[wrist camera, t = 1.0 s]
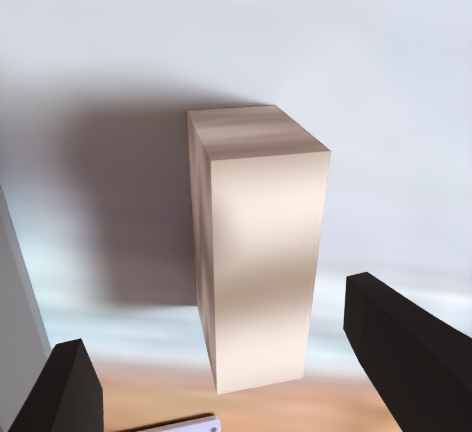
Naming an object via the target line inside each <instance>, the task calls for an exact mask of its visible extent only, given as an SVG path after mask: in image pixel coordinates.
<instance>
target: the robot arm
mask: <svg viewBox="0 0 472 432" xmlns="http://www.w3.org/2000/svg"><path fill="white" fill-rule="evenodd" d="M343 329H344V331H345V333H346V336H347V338H348V340H349V342H350V344H351V347H352V349H353V351H354V353H355V355H356V357H357V359H358V361H359V363H360V364H361V366H362V368H363V369H364V371H365V372H366V374H367V376H368V377H369V379H370V380H371V382H372V384H373V385H374V387H375V389H376V390H377V392H378V393H379V395H380V396H381V398H382V400H383V401H384V403H385V404H386V406H387V407H388V409H389V411H390V412H391V414H392V415H393V417H394V419H395V420H396V422H397V423H398V425H399V427H400V428H401V430H402V431H403V432H472V338H470V337H469V336H467V335H465V334H463V333H462V332H460V331H458V330H456V329H455V328H453V327H451V326H450V325H448V324H446V323H445V322H443V321H441V320H440V319H438V318H436V317H435V316H433V315H432V314H430V313H428V312H427V311H425V310H424V309H422V308H421V307H419V306H418V305H416V304H415V303H413V302H411V301H410V300H408V299H407V298H405V297H404V296H402V295H401V294H399V293H398V292H396V291H395V290H394V289H392V288H391V287H389V286H388V285H386V284H385V283H383V282H382V281H380V280H379V279H377V278H376V277H374V276H373V275H371V274H370V273H368V272H364V273H360V274H355V275H351V276H347V278H346V293H345V309H344V325H343ZM103 431H104V422H103V389H102V387H101V384H100V382H99V379H98V377H97V375H96V372H95V370H94V368H93V365H92V363H91V360H90V358H89V356H88V353H87V351H86V349H85V346H84V344H83V341H82V339H76V340H72V341H68V342H63V343H59V344H56V345H55V347H54V348H53V350H52V352H51V354H50V356H49V358H48V359H47V361H46V363H45V365H44V367H43V369H42V371H41V373H40V375H39V377H38V379H37V380H36V382H35V384H34V386H33V388H32V390H31V391H30V393H29V395H28V397H27V399H26V401H25V402H24V404H23V406H22V407H21V409H20V411H19V413H18V414H17V416H16V418H15V420H14V421H13V423H12V425H11V427H10V428H9V430H8V432H103ZM137 432H221V429H220V419H219V417H218V416H208V417H204V418H199V419H194V420H189V421H185V422H180V423H175V424H170V425H166V426H161V427H156V428H151V429H146V430H142V431H137Z"/></svg>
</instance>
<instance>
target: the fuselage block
mask: <svg viewBox="0 0 472 432" xmlns="http://www.w3.org/2000/svg"><path fill="white" fill-rule="evenodd" d="M187 124H188V143H189V161H190V180H191V198H192V216H193V235H194V253H195V272H196V290H197V307H198V311H199V316H200V320H201V325H202V329H203V334H204V338H205V342H206V347H207V351H208V356H209V360H210V365H211V369H212V374H213V378H214V383H215V387H216V392H217V395H219V394H224V393H229V392H234V391H239V390H244V389H249V388H254V387H259V386H264V385H269V384H274V383H279V382H284V381H289V380H294V379H300V378H303V372H304V364H305V356H306V348H307V340H308V332H309V324H310V316H311V308H312V300H313V292H314V284H315V276H316V267H317V259H318V251H319V243H320V235H321V227H322V219H323V211H324V203H325V195H326V187H327V179H328V171H329V163H330V155H331V151H330V150H329V149H328V148H327V147H326V146H324V145H323V144H322V143H321V142H320V141H318V140H317V139H316V138H315V137H314V136H312V135H311V134H310V133H309V132H307V131H306V130H305V129H304V128H303V127H301V126H300V125H299V124H298V123H297V122H295V121H294V120H293V119H292V118H291V117H289V116H288V115H287V114H286V113H285V112H283V111H282V110H281V109H280V108H278V107H277V106H276V105H272V106H255V107H237V108H220V109H203V110H187Z"/></svg>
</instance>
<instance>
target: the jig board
mask: <svg viewBox="0 0 472 432" xmlns="http://www.w3.org/2000/svg"><path fill="white" fill-rule="evenodd" d="M51 352H52V350H51V347H50V344H49V341H48V337H47V334H46V331H45V328H44V324H43V321H42V318H41V315H40V311H39V308H38V305H37V302H36V298H35V295H34V292H33V289H32V285H31V282H30V279H29V276H28V272H27V269H26V266H25V263H24V259H23V256H22V253H21V250H20V246H19V243H18V240H17V237H16V233H15V230H14V227H13V224H12V221H11V217H10V214H9V211H8V208H7V204H6V201H5V198H4V195H3V191H2V188H1V185H0V432H8V430H9V428H10V427H11V425H12V423H13V421H14V420H15V418H16V416H17V414H18V413H19V411H20V409H21V407H22V406H23V404H24V402H25V401H26V399H27V397H28V395H29V393H30V391H31V390H32V388H33V386H34V384H35V382H36V380H37V379H38V377H39V375H40V373H41V371H42V369H43V367H44V365H45V363H46V361H47V359H48V358H49V356H50V354H51Z"/></svg>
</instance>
